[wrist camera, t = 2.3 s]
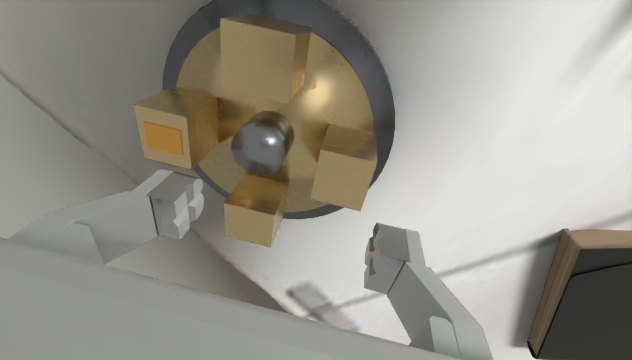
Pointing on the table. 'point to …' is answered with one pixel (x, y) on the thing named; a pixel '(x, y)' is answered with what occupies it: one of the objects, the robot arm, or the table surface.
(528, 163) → the table surface
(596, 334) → the file folder
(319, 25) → the base plate
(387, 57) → the table surface
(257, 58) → the four-lug gold disc
